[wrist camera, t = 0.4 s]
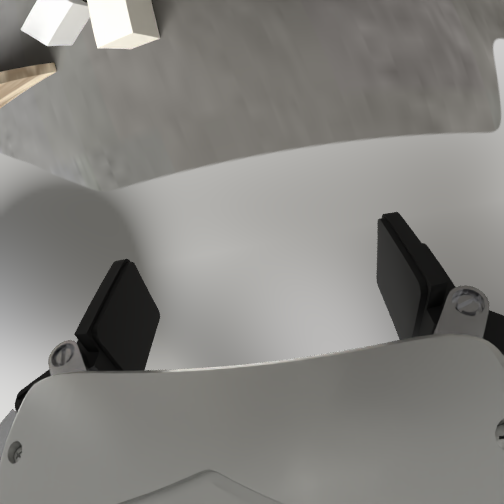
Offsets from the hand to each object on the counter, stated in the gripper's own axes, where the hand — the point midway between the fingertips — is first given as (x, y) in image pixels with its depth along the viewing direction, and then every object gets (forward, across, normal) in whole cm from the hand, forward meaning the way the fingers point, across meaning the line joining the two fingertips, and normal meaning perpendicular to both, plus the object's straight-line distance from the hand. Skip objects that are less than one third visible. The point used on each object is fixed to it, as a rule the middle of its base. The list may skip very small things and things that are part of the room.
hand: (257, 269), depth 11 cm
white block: (+29, +11, -18) cm, 36 cm away
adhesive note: (+30, +20, -22) cm, 42 cm away
